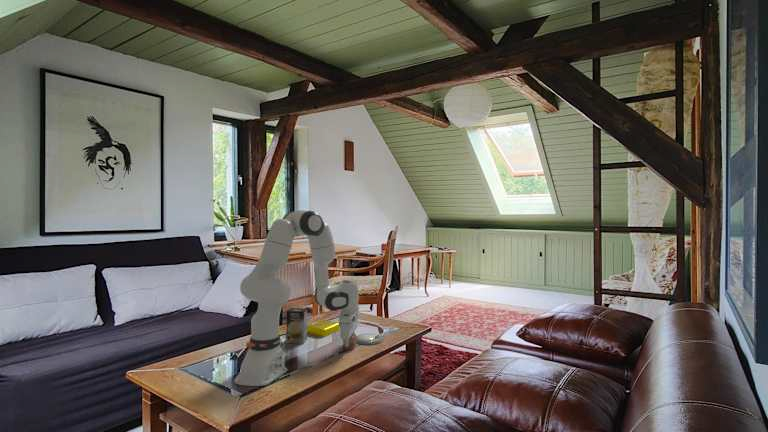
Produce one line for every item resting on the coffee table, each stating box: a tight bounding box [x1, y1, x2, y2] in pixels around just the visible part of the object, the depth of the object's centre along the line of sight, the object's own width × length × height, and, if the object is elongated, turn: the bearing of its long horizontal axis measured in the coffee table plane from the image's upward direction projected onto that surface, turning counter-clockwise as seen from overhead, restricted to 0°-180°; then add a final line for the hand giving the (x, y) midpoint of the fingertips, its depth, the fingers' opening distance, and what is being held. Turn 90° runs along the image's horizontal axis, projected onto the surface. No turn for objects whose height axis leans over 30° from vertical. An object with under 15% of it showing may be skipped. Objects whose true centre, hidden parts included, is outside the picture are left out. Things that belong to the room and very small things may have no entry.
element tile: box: [307, 318, 340, 338], centre depth 226 cm, size 15×15×5 cm
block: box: [342, 333, 357, 350], centre depth 201 cm, size 5×5×6 cm
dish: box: [356, 333, 384, 346], centre depth 212 cm, size 14×14×1 cm
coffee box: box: [285, 307, 308, 345], centre depth 209 cm, size 9×6×16 cm
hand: (349, 342), depth 201 cm, fingers open, 8 cm apart
